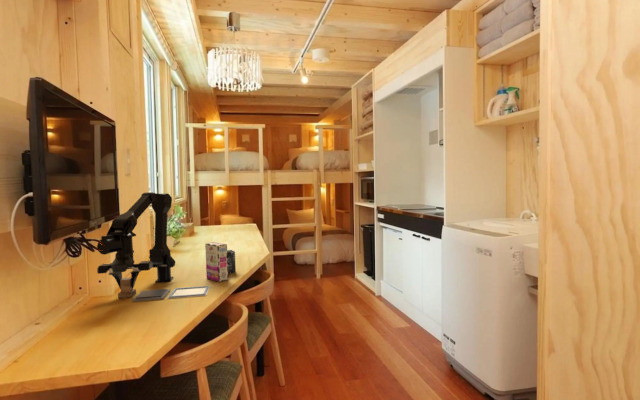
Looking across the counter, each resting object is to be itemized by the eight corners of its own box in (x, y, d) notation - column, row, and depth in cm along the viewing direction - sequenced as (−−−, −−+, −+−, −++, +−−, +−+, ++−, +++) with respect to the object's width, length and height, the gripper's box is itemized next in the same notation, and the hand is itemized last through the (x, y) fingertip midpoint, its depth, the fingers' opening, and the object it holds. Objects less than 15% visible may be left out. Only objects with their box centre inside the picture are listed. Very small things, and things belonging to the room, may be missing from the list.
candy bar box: (229, 280, 164) (227, 243, 163) (219, 282, 160) (217, 245, 159) (215, 276, 171) (214, 241, 171) (206, 278, 168) (204, 243, 167)
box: (220, 275, 173) (219, 253, 172) (216, 273, 177) (215, 251, 177) (236, 272, 177) (235, 251, 176) (232, 270, 182) (231, 249, 181)
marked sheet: (174, 289, 151) (174, 288, 151) (210, 286, 154) (210, 285, 154) (167, 298, 139) (167, 297, 139) (206, 295, 142) (206, 294, 142)
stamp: (122, 294, 146) (121, 277, 146) (136, 293, 147) (135, 276, 147) (118, 298, 142) (117, 280, 141) (132, 297, 142) (131, 279, 142)
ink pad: (141, 293, 148) (141, 290, 148) (170, 290, 150) (169, 288, 149) (132, 301, 137) (132, 298, 137) (163, 299, 139) (163, 296, 139)
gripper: (89, 254, 134) (92, 296, 135) (143, 251, 137) (146, 292, 138) (102, 249, 145) (104, 288, 146) (152, 246, 148) (154, 284, 149)
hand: (126, 288), depth 144 cm, fingers open, 4 cm apart
